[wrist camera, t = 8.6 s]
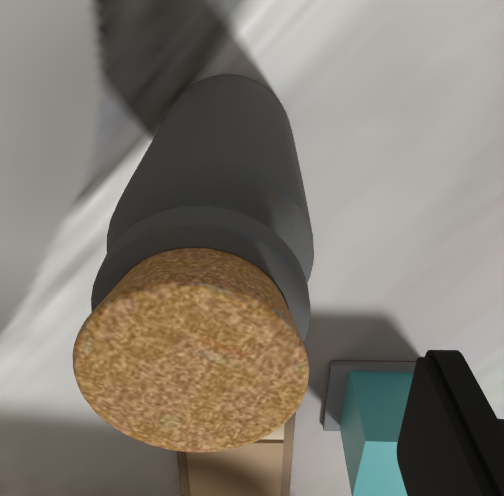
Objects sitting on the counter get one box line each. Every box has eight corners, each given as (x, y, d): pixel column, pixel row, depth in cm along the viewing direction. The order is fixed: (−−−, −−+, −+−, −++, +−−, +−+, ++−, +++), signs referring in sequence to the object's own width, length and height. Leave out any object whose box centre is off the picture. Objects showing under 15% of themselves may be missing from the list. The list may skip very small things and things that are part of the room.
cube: (349, 370, 29) (365, 441, 25) (430, 373, 29) (460, 443, 25) (339, 425, 32) (352, 497, 28) (414, 427, 32) (438, 499, 28)
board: (156, 248, 25) (152, 257, 25) (306, 249, 25) (308, 258, 25) (183, 493, 37) (182, 505, 36) (288, 494, 37) (288, 506, 36)
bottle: (140, 139, 22) (-16, 381, 10) (225, 43, 20) (170, 188, 7) (232, 217, 24) (205, 502, 12) (318, 137, 22) (401, 380, 9)
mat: (330, 361, 30) (331, 365, 29) (428, 361, 30) (430, 366, 29) (322, 425, 33) (323, 430, 32) (411, 426, 33) (412, 431, 32)
